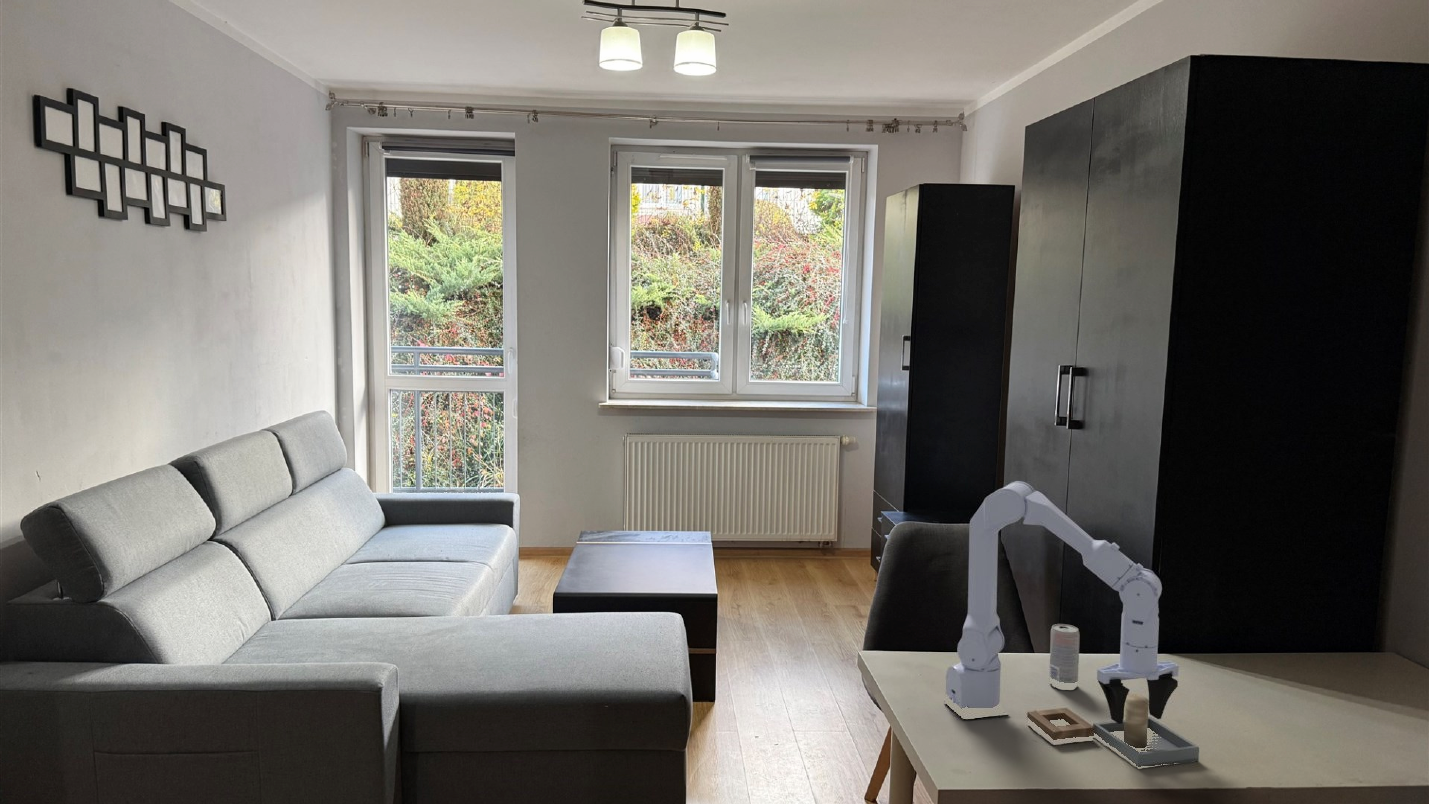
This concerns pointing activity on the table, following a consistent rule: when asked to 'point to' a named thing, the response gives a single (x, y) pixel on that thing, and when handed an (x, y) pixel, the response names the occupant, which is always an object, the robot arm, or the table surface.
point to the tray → (1167, 747)
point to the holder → (1075, 728)
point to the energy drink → (1064, 653)
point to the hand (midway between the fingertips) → (1136, 718)
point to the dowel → (1136, 721)
